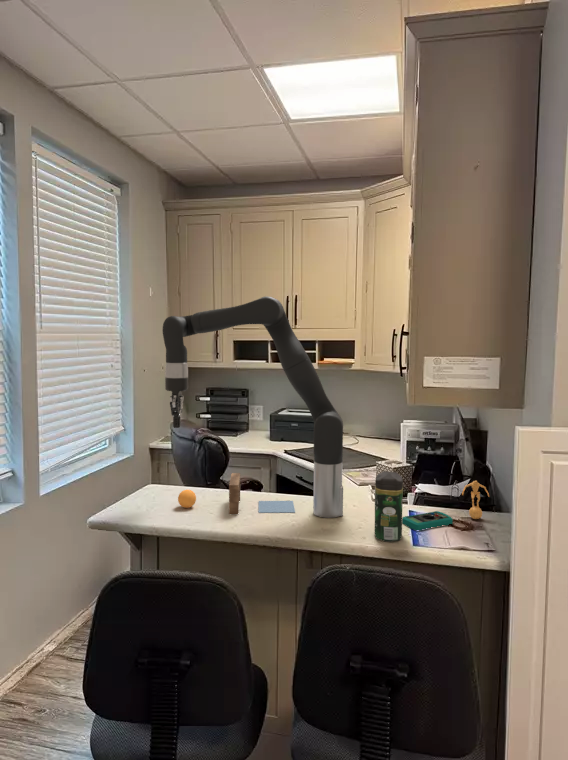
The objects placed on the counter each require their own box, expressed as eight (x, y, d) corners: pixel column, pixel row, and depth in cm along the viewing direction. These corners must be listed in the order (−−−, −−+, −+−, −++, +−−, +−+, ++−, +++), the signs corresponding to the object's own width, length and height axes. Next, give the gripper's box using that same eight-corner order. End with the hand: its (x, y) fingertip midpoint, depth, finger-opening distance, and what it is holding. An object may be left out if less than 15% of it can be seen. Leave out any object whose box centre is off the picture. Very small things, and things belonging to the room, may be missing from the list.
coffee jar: (374, 529, 155) (376, 468, 154) (401, 531, 154) (403, 470, 152) (373, 541, 146) (374, 476, 144) (401, 544, 144) (403, 478, 143)
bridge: (240, 500, 182) (240, 473, 181) (238, 514, 167) (238, 485, 166) (231, 500, 182) (231, 473, 181) (229, 514, 167) (229, 485, 166)
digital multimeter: (454, 525, 160) (454, 516, 160) (416, 533, 154) (416, 523, 154) (437, 518, 167) (438, 509, 167) (400, 525, 160) (401, 515, 160)
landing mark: (292, 501, 181) (292, 500, 181) (295, 512, 169) (295, 512, 169) (258, 501, 181) (258, 500, 181) (258, 512, 169) (258, 512, 169)
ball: (197, 504, 177) (197, 487, 176) (195, 510, 171) (194, 492, 170) (179, 504, 177) (179, 487, 176) (176, 510, 171) (176, 492, 170)
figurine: (462, 520, 164) (464, 482, 163) (460, 513, 170) (461, 477, 169) (490, 521, 162) (491, 484, 161) (486, 515, 168) (488, 479, 167)
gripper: (185, 377, 167) (185, 430, 168) (190, 375, 180) (190, 424, 181) (161, 377, 166) (161, 430, 168) (168, 374, 180) (169, 424, 181)
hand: (176, 427), depth 175 cm, fingers closed
